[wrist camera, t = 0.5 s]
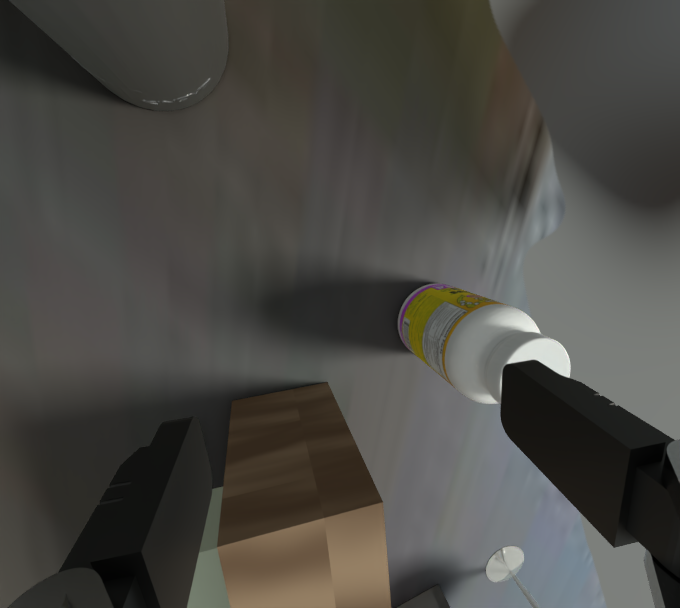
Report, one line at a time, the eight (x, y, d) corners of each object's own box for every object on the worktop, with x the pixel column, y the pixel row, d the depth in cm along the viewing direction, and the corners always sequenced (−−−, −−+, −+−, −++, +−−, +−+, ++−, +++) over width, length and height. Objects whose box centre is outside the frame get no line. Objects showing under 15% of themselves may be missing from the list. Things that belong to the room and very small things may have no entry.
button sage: (176, 497, 25) (158, 563, 20) (251, 479, 26) (251, 538, 21) (190, 555, 26) (177, 631, 21) (261, 536, 27) (263, 604, 22)
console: (232, 400, 30) (216, 547, 17) (327, 382, 32) (382, 502, 18) (278, 649, 37) (294, 890, 24) (354, 623, 39) (409, 836, 25)
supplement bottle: (477, 306, 33) (607, 358, 21) (435, 366, 34) (539, 450, 22) (424, 266, 31) (534, 298, 19) (379, 330, 32) (460, 401, 19)
